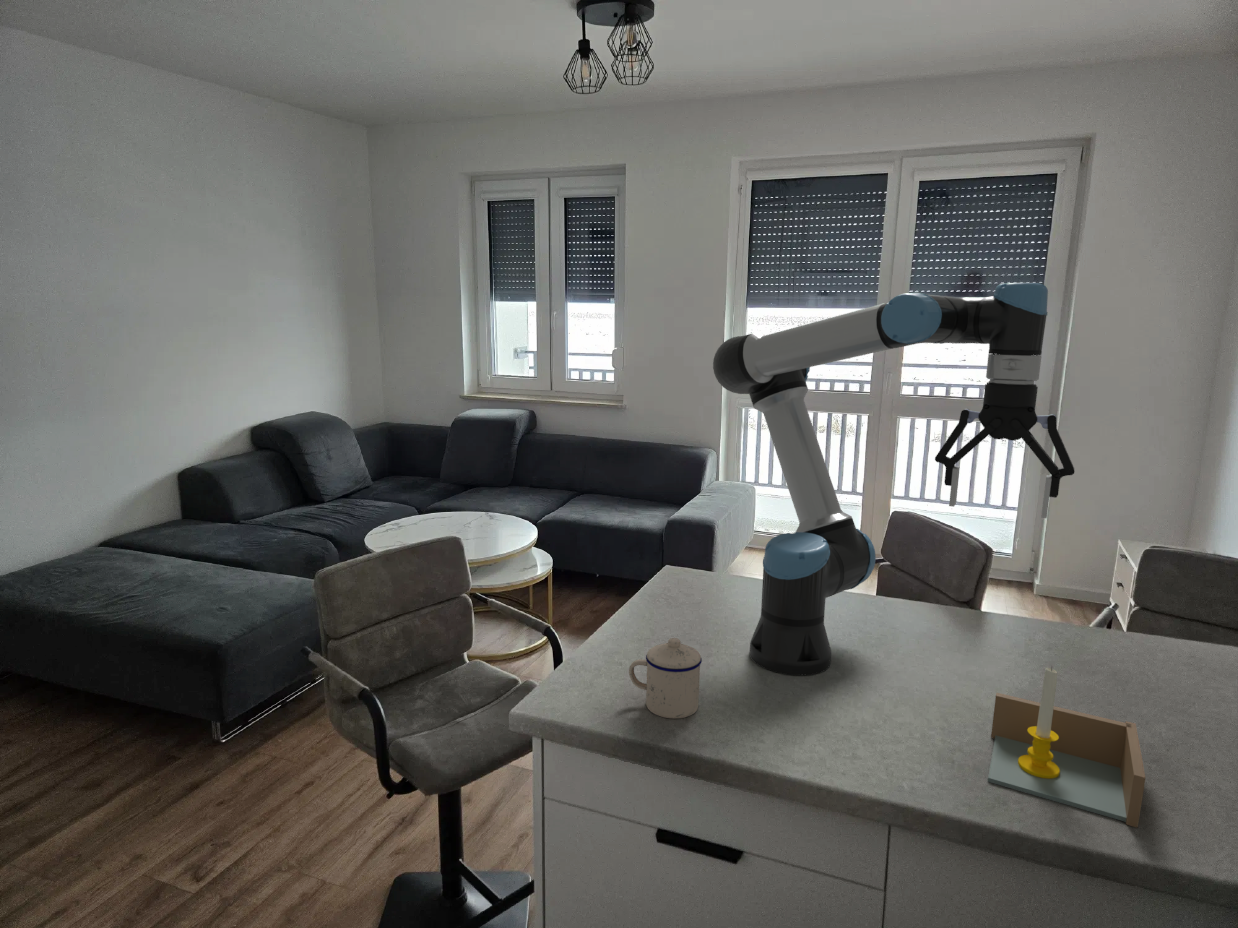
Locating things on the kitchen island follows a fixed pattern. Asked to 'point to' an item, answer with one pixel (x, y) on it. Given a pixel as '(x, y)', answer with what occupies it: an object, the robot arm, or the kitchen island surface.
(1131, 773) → the open room model
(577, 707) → the kitchen island surface
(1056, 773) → the candle
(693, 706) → the teacup with lid
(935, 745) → the kitchen island surface
